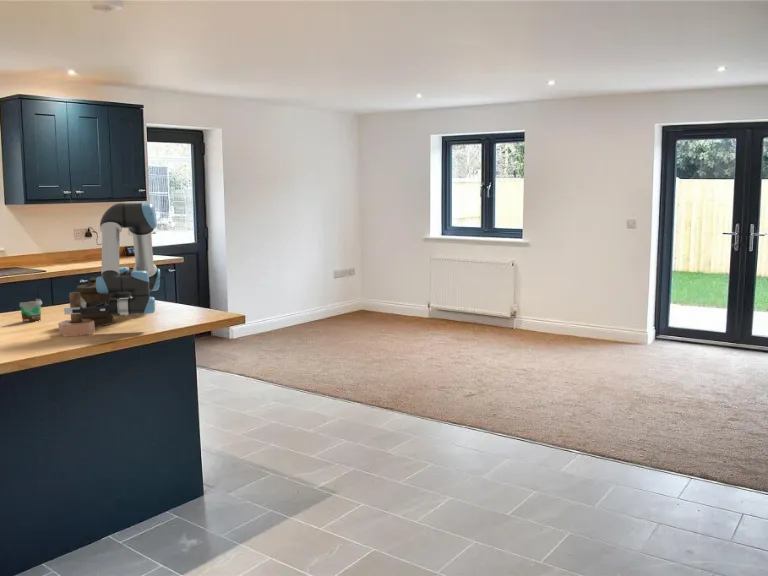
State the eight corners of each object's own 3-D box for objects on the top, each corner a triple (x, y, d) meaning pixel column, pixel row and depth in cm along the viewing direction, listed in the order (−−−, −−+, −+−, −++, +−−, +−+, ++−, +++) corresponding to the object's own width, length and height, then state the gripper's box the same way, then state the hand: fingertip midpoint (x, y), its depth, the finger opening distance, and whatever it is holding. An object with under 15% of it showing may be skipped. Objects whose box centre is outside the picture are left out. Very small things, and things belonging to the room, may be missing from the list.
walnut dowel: (80, 331, 318) (77, 291, 315) (84, 332, 315) (81, 292, 312) (70, 332, 315) (67, 292, 312) (74, 334, 312) (71, 293, 309)
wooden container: (79, 321, 342) (76, 276, 338) (112, 319, 347) (110, 275, 344) (78, 327, 328) (75, 280, 325) (113, 325, 333) (110, 278, 330)
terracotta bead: (86, 328, 324) (86, 317, 324) (98, 332, 314) (97, 321, 314) (56, 332, 315) (55, 321, 314) (67, 337, 305) (66, 325, 305)
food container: (32, 323, 337) (30, 302, 336) (20, 323, 339) (19, 302, 337) (49, 319, 349) (47, 298, 348) (38, 318, 351) (36, 298, 349)
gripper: (115, 319, 306) (62, 322, 301) (122, 310, 330) (73, 312, 325) (114, 302, 305) (61, 304, 300) (121, 294, 329) (72, 296, 324)
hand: (67, 308), depth 313 cm, fingers open, 13 cm apart
